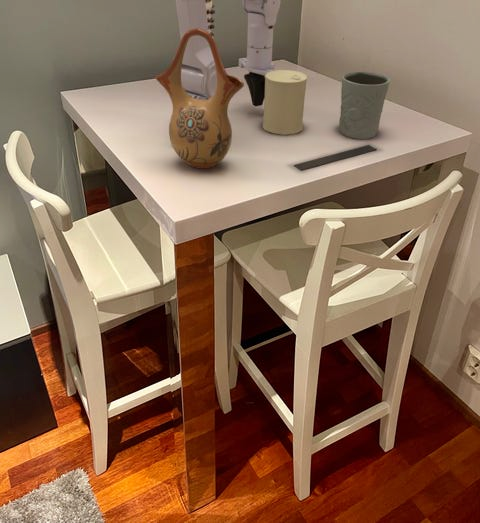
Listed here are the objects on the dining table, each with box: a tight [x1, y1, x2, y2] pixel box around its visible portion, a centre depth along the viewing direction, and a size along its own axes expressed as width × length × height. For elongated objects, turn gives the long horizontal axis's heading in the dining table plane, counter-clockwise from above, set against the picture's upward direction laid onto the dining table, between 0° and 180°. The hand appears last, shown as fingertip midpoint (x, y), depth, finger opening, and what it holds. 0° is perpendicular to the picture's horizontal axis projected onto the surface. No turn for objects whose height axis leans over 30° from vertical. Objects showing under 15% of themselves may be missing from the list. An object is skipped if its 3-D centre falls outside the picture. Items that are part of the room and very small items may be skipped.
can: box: [261, 69, 308, 136], centre depth 115 cm, size 9×9×12 cm
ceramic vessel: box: [154, 28, 245, 169], centre depth 94 cm, size 16×9×25 cm, turn 76°
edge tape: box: [293, 144, 378, 171], centre depth 106 cm, size 20×2×1 cm, turn 122°
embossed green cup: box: [338, 71, 391, 140], centre depth 114 cm, size 10×10×12 cm
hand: (257, 105), depth 125 cm, fingers closed
